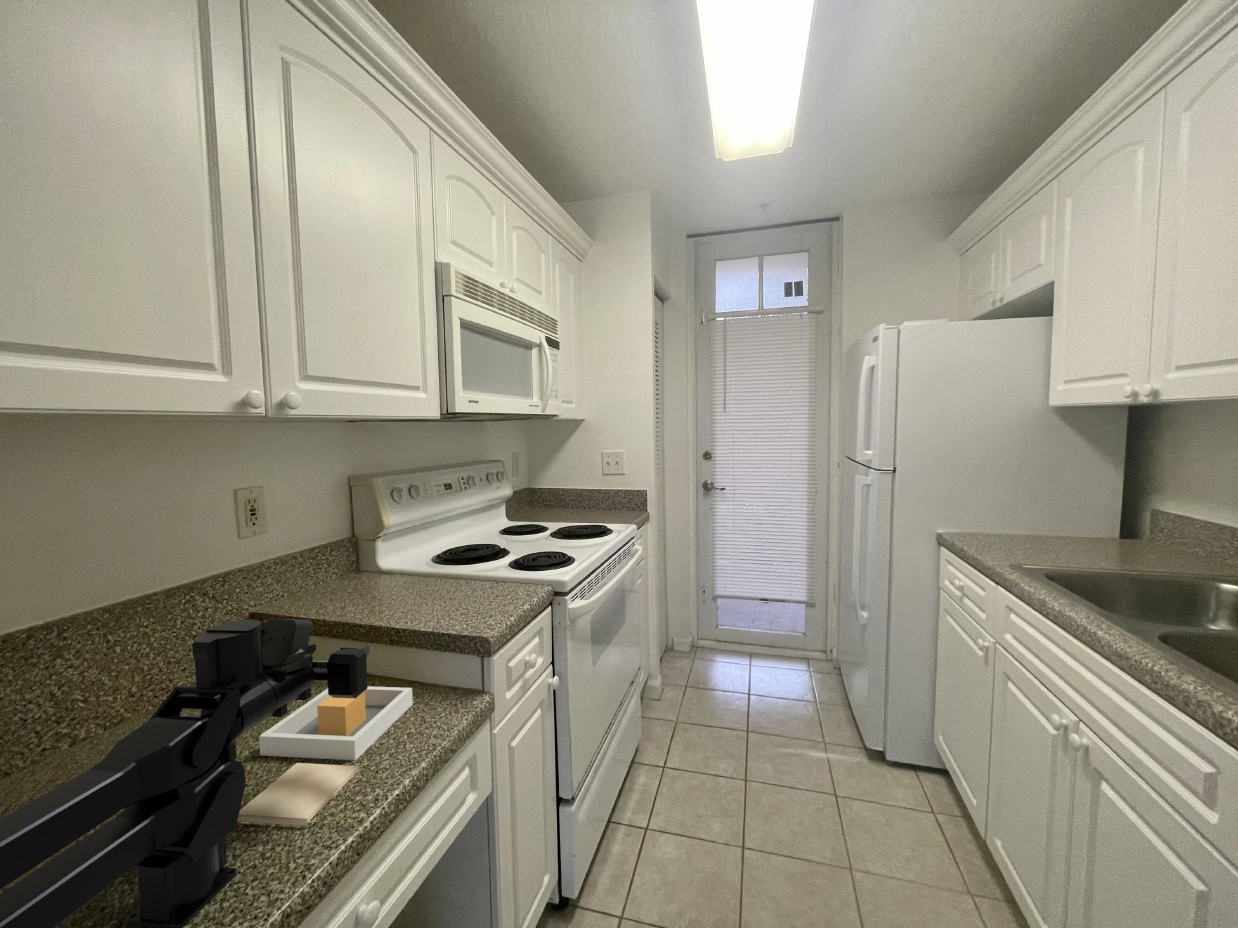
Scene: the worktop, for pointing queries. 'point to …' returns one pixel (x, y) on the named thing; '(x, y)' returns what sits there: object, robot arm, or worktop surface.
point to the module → (341, 715)
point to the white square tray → (304, 740)
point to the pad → (297, 794)
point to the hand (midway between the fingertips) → (341, 647)
